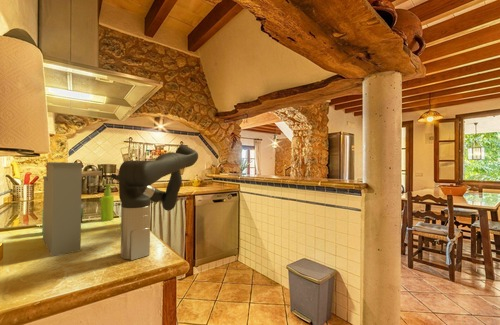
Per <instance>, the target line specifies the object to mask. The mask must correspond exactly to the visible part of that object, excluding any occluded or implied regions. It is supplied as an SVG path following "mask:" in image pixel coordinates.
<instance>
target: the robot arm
mask: <svg viewBox="0 0 500 325" xmlns="http://www.w3.org/2000/svg"><path fill="white" fill-rule="evenodd" d="M198 159H199V153H198V152H197V150H195V149H193V148H191V147H189V146H187V145H185V144H181V145H179V146H178V147H177V148H176V151H174V152H171V151H169V152H165V153H162V154H160V155H158V156H157V157H156V159H155V160H125V161H123V162H122V163H121V165H120V167H119V168H118V174H115V173H111V175H110V178H111V179H114V180H115V181H116V182H118V196H119V201H120V204H121V212H120V213H121V214H120V215H121V216H120V258H121V259H122V260H130V261H134V260H137V259H140V258H141V259H142V258H144V257H148V256H150V252H151V251H150V250H151V248H150V247H151V246H150V245H151V202H153V203H158V202H161V205H162V208H163V210H165V211H172V210H173V209H174V208H175V206H176V205H177V201H178V196H179V192H180V189H181V187H182V184H183V181H182V180H183V178H182V177H183V176H182V174H181V170H182V169H185V168H190V167H192V166H193V165H195V164H196V163H197V161H198ZM168 175H170V177H169V180H168V184H167V186H166V188H165V191H163V190H160V189H158V188H156V187H154V186H152V185H153V184H154V183H156V182H157V181H159V180H160V179H162V178H164V177H167V176H168Z"/></svg>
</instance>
